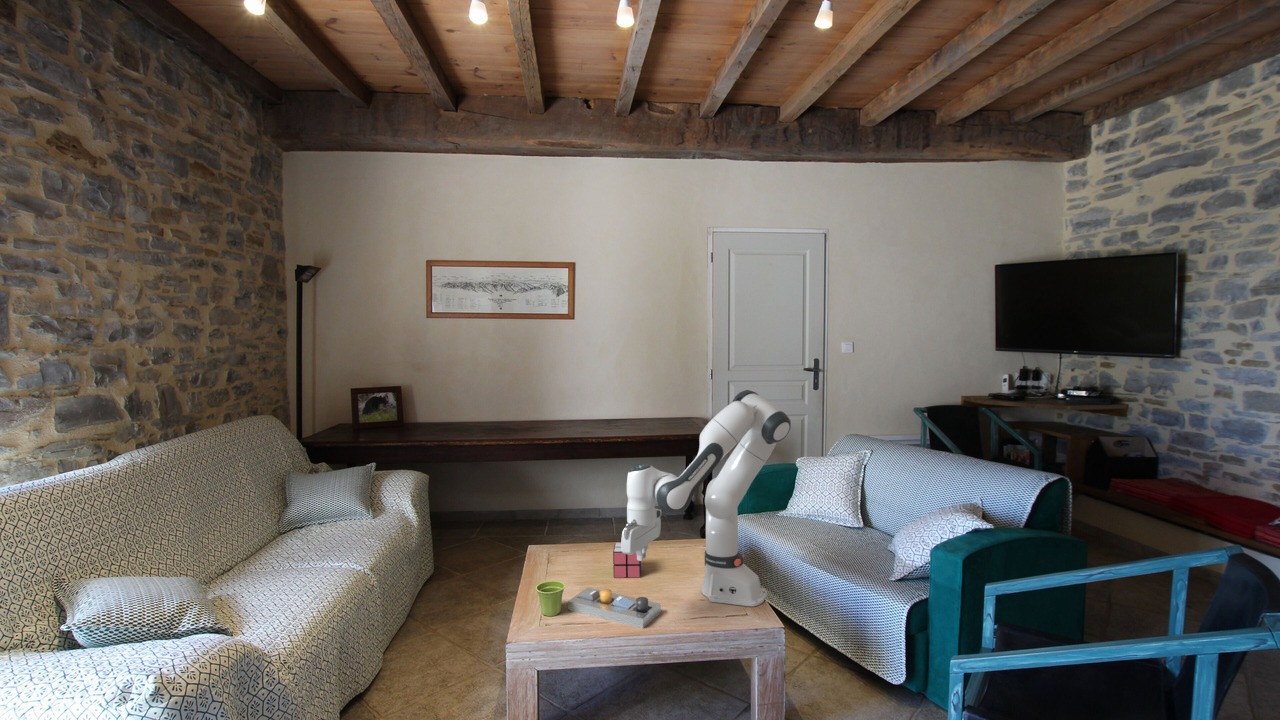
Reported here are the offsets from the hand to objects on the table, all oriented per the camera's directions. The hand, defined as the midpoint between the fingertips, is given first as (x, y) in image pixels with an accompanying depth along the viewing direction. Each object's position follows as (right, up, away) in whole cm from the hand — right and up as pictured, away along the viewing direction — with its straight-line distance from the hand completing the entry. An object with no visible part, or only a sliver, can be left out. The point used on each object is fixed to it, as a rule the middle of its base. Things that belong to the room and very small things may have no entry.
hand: (641, 559), depth 196 cm
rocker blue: (-6, -16, +4) cm, 17 cm away
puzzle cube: (-5, -18, +38) cm, 42 cm away
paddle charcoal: (-18, -16, +10) cm, 26 cm away
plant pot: (-30, -20, +6) cm, 36 cm away
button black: (0, -17, +1) cm, 17 cm away
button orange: (-12, -17, +7) cm, 21 cm away
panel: (-9, -19, +6) cm, 22 cm away
